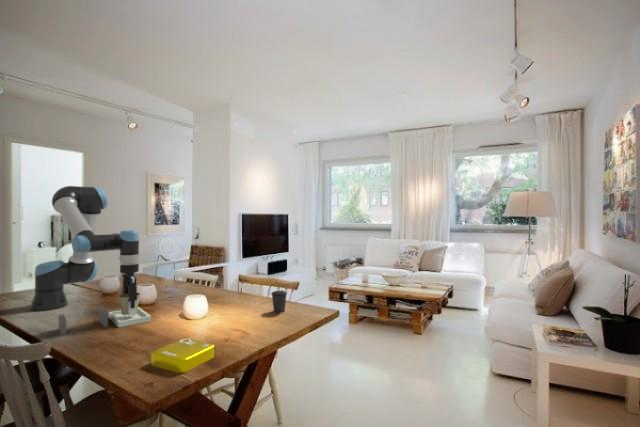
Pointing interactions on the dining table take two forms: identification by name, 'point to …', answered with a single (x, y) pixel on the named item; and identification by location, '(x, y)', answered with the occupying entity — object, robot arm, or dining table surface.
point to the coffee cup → (279, 300)
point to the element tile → (182, 355)
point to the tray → (129, 318)
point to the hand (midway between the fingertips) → (129, 312)
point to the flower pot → (127, 303)
